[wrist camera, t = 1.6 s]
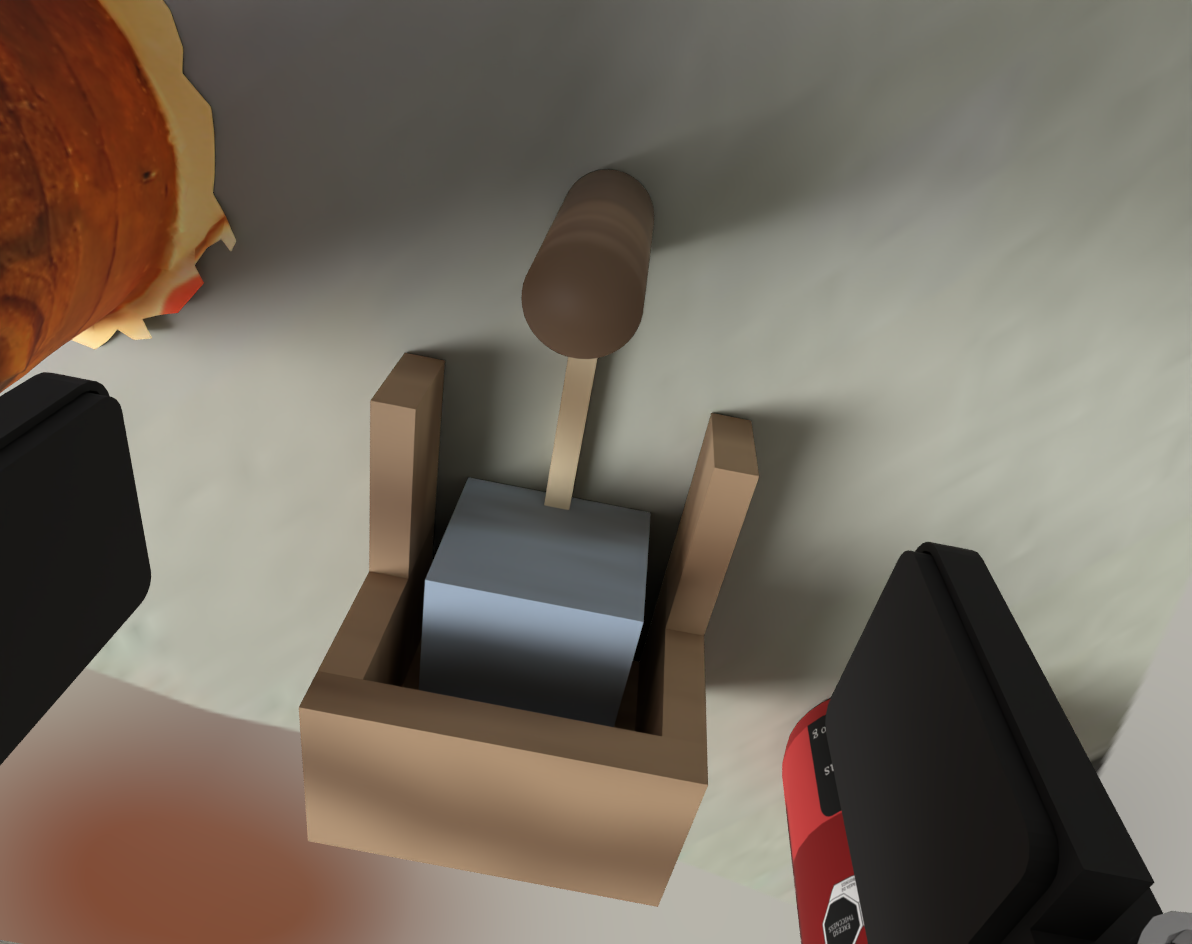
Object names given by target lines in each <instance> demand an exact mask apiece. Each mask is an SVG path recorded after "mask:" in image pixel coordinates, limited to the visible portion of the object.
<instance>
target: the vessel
mask: <svg viewBox="0 0 1192 944" xmlns="http://www.w3.org/2000/svg"><path fill="white" fill-rule="evenodd" d="M182 66H183V46H182V44H181V41H180V38H179V35H178V32H177V29H176V26H175V23H174V20H173V17H172V14H171V11H170V9H169V8H168V7H167V5H166V4H165V3H164V1H163V0H0V393H1V392H2V391H3V390H5V389H6V388H8V387H9V386H10V385H12V384H13V383H15V382H16V381H17V380H19V379H20V378H22V377H23V376H24V375H26V374H27V373H28V372H29V371H30V370H32V369H33V368H34V367H35V366H36V365H38V364H39V363H40V362H41V361H42V360H44V359H45V358H46V357H48V356H49V355H50V354H52V353H53V352H54V351H56V350H57V349H58V348H60V347H61V346H63V345H64V344H65V343H67V342H68V341H70V340H73V341H75V342H78V343H80V344H83V345H85V346H88V347H90V348H93V349H97V348H98V347H100V346H101V345H102V344H104V343H105V342H107V341H108V340H109V339H110V338H111V336H112V335H113V334H114V333H115V332H116V330H119V331H121V332H122V333H124V334H125V335H127V336H129V337H130V338H132V339H133V340H139V339H149V338H152V337H151V335H150V333H149V331H148V329H147V327H146V325H145V323H144V321H143V319H144V318H149V317H153V316H157V315H163V314H172V313H178V312H179V311H180V310H181V309H182V308H183V306H184V305H185V304H186V303H187V302H188V301H189V300H190V298H191V297H192V296H193V295H194V294H195V293H196V292H197V290H198V289H199V288H200V287H201V286H202V285H203V284H204V282H203V280H202V279H201V277H200V275H199V273H198V271H197V269H196V267H195V264H196V263H197V261H198V260H199V258H200V257H201V256H202V254H203V253H204V251H205V250H206V249H207V247H209V246H211V245H212V244H214V243H216V242H218V241H219V240H221V239H222V241H223V242H224V243H225V245H226V246H227V247H228V249H229V250H230V251H232V249H233V247H234V245H235V243H236V239H235V237H234V234H233V232H232V230H231V228H230V225H229V223H228V221H227V218H226V216H225V214H224V212H223V211H222V209H221V207H220V205H219V204H218V202H217V200H216V198H215V196H214V195H213V187H214V177H215V145H214V127H213V119H212V111H211V107H210V105H209V104H208V103H207V102H206V101H205V99H204V98H203V97H202V96H201V95H200V94H199V92H198V91H197V90H196V89H195V88H194V86H193V85H192V84H191V83H190V82H189V80H188V79H187V78H186V77H185V76H184V75H183V73H182Z"/></svg>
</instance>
